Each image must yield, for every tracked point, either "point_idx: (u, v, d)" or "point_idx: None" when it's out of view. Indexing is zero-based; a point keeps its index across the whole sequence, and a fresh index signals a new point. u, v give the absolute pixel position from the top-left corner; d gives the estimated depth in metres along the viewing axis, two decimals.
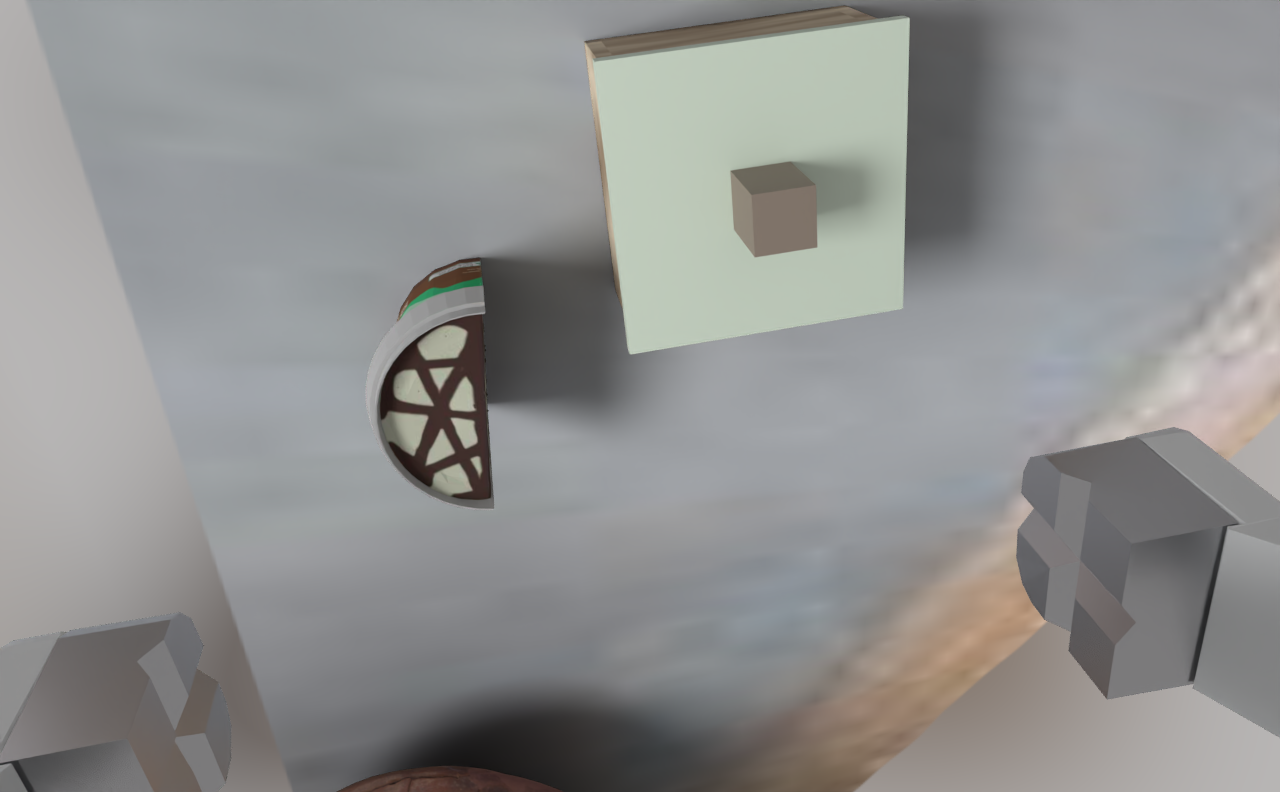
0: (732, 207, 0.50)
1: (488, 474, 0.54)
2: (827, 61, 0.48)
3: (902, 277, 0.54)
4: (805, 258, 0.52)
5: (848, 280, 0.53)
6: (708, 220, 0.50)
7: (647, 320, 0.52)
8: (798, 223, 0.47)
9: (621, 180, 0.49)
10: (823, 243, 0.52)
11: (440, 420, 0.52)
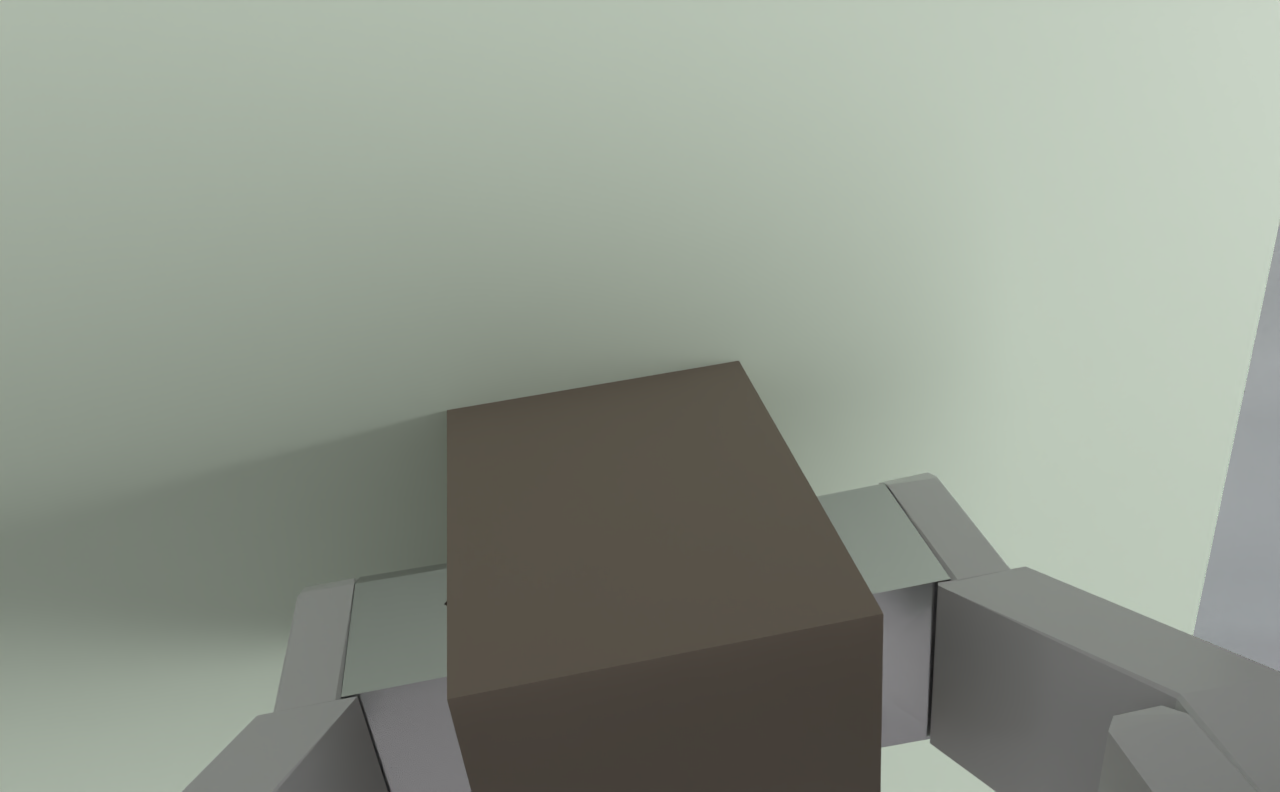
0: None
1: None
2: None
3: None
4: (330, 214, 0.09)
5: None
6: (856, 396, 0.11)
7: None
8: None
9: (1171, 527, 0.13)
10: (244, 300, 0.09)
11: None
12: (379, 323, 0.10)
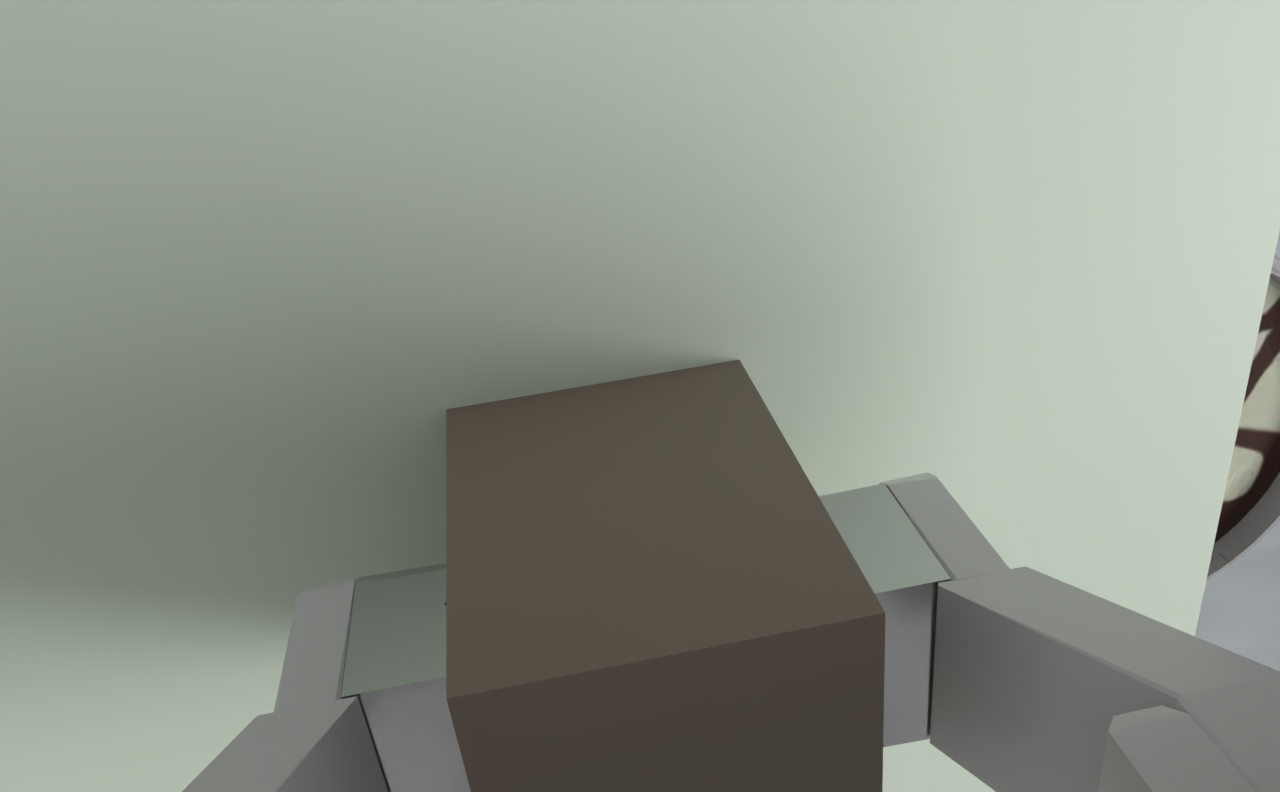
0: None
1: None
2: None
3: None
4: (329, 212, 0.09)
5: None
6: (856, 395, 0.11)
7: None
8: None
9: (1174, 527, 0.13)
10: (242, 299, 0.09)
11: None
12: (380, 321, 0.10)
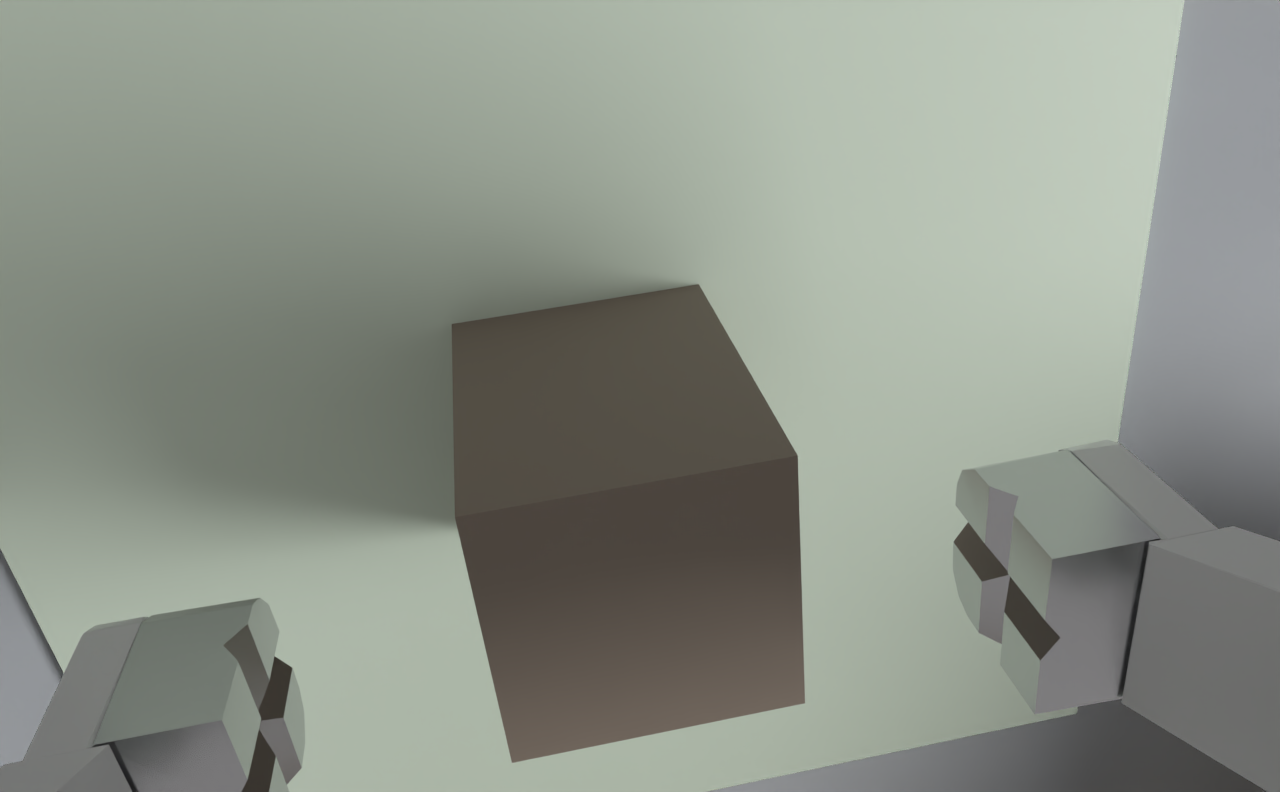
0: None
1: None
2: (418, 786, 0.16)
3: None
4: (355, 153, 0.11)
5: (82, 26, 0.10)
6: (799, 316, 0.13)
7: None
8: (577, 617, 0.09)
9: (1079, 439, 0.15)
10: (283, 226, 0.11)
11: None
12: (396, 247, 0.12)
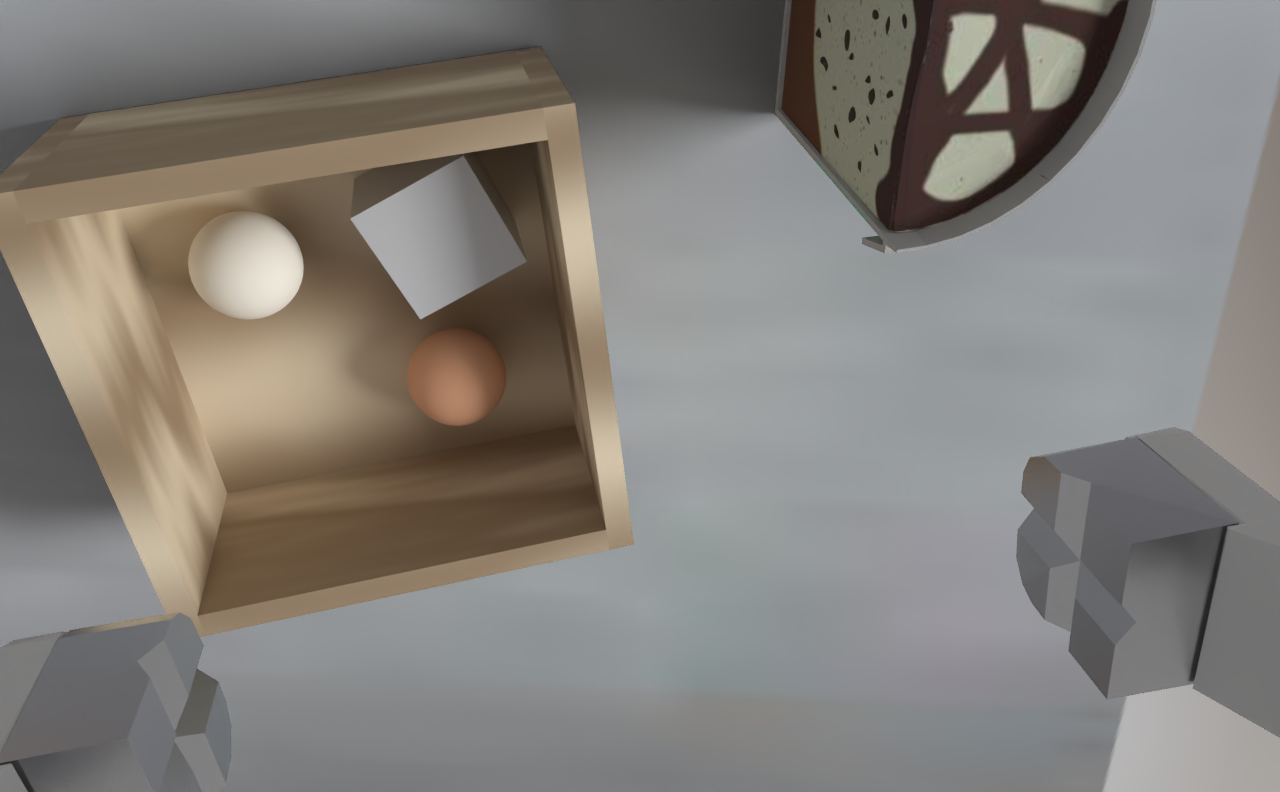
0: None
1: None
2: None
3: None
4: None
5: None
6: None
7: None
8: None
9: None
10: None
11: None
12: None
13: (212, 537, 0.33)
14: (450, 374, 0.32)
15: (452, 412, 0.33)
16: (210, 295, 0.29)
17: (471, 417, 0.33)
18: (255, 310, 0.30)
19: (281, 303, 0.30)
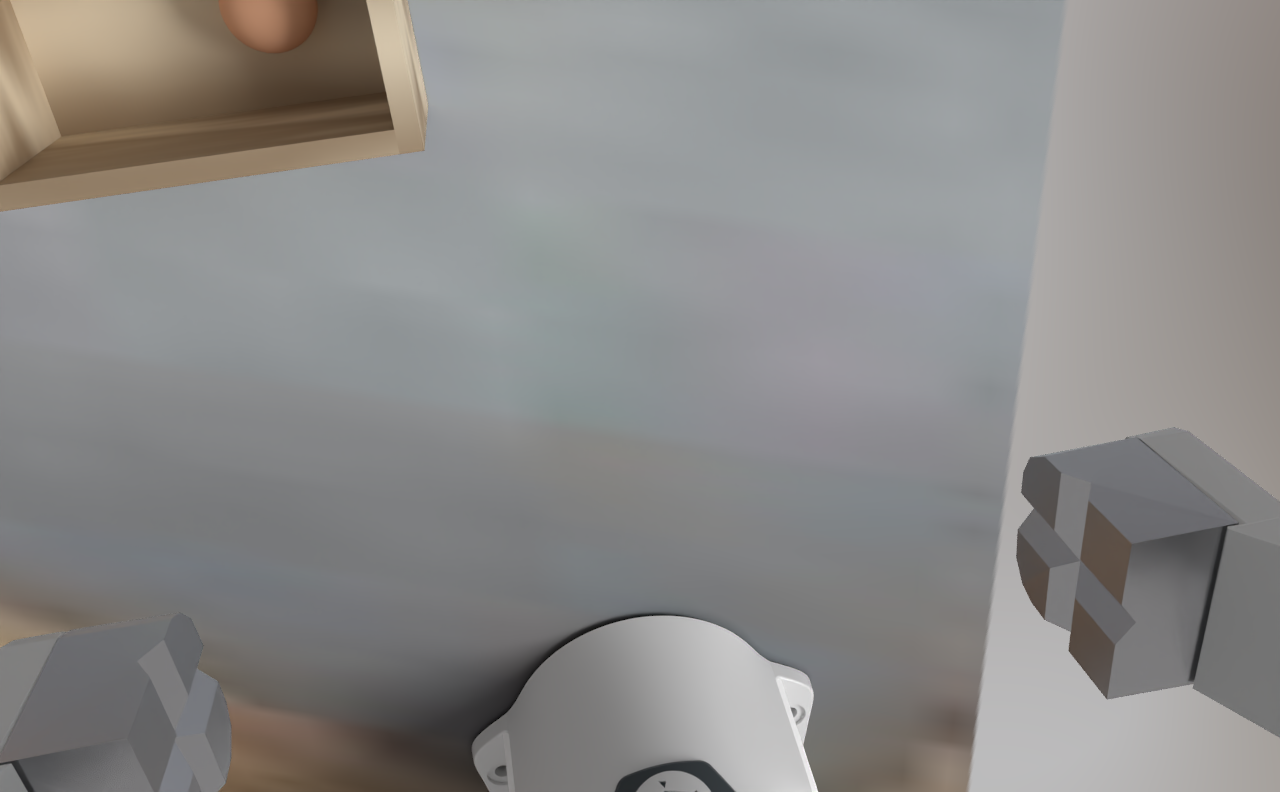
0: None
1: None
2: None
3: None
4: None
5: None
6: None
7: None
8: None
9: None
10: None
11: None
12: None
13: (29, 148, 0.35)
14: None
15: (255, 23, 0.34)
16: None
17: (276, 34, 0.34)
18: None
19: None
